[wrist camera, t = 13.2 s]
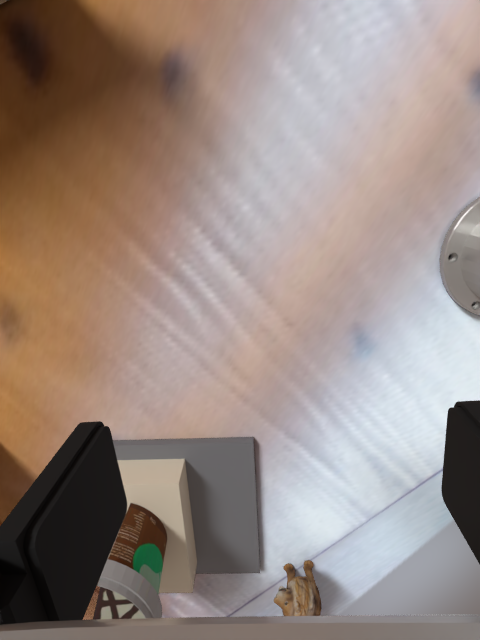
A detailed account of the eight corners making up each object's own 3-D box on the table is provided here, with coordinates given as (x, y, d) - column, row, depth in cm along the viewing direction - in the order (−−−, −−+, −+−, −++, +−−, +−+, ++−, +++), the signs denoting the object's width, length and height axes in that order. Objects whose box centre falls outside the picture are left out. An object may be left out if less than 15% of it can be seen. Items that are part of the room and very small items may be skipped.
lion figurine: (270, 543, 50) (273, 615, 42) (311, 539, 50) (323, 611, 42) (283, 622, 55) (289, 702, 47) (321, 619, 55) (334, 699, 46)
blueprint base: (253, 436, 45) (253, 466, 41) (259, 566, 52) (260, 604, 47) (83, 441, 46) (63, 470, 42) (110, 567, 53) (96, 605, 48)
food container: (165, 584, 46) (142, 686, 37) (114, 572, 46) (78, 672, 37) (188, 505, 42) (170, 597, 33) (133, 492, 42) (98, 580, 33)
